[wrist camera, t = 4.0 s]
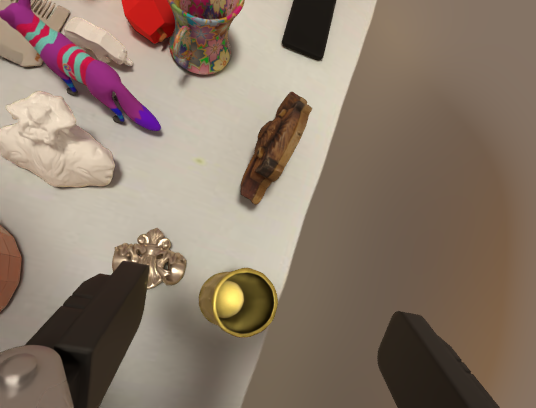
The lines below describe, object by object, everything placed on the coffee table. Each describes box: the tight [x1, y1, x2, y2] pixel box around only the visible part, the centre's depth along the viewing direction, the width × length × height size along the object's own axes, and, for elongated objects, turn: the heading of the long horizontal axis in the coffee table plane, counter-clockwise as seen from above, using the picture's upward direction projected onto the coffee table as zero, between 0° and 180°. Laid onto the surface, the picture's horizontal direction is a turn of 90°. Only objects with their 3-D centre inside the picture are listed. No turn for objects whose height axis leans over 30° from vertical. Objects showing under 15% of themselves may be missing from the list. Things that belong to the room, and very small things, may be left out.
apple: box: [122, 0, 175, 44], centre depth 43 cm, size 7×7×8 cm
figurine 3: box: [64, 17, 133, 66], centre depth 40 cm, size 2×8×5 cm, turn 66°
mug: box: [167, 0, 245, 74], centre depth 41 cm, size 12×9×11 cm
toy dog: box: [0, 0, 161, 131], centre depth 36 cm, size 4×18×10 cm, turn 61°
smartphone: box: [282, 0, 336, 60], centre depth 52 cm, size 7×1×15 cm
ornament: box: [112, 228, 186, 289], centre depth 36 cm, size 8×7×4 cm
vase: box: [199, 268, 278, 337], centre depth 32 cm, size 6×6×14 cm
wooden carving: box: [241, 92, 312, 205], centre depth 40 cm, size 16×5×10 cm, turn 160°
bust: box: [0, 91, 115, 187], centre depth 34 cm, size 12×8×11 cm
